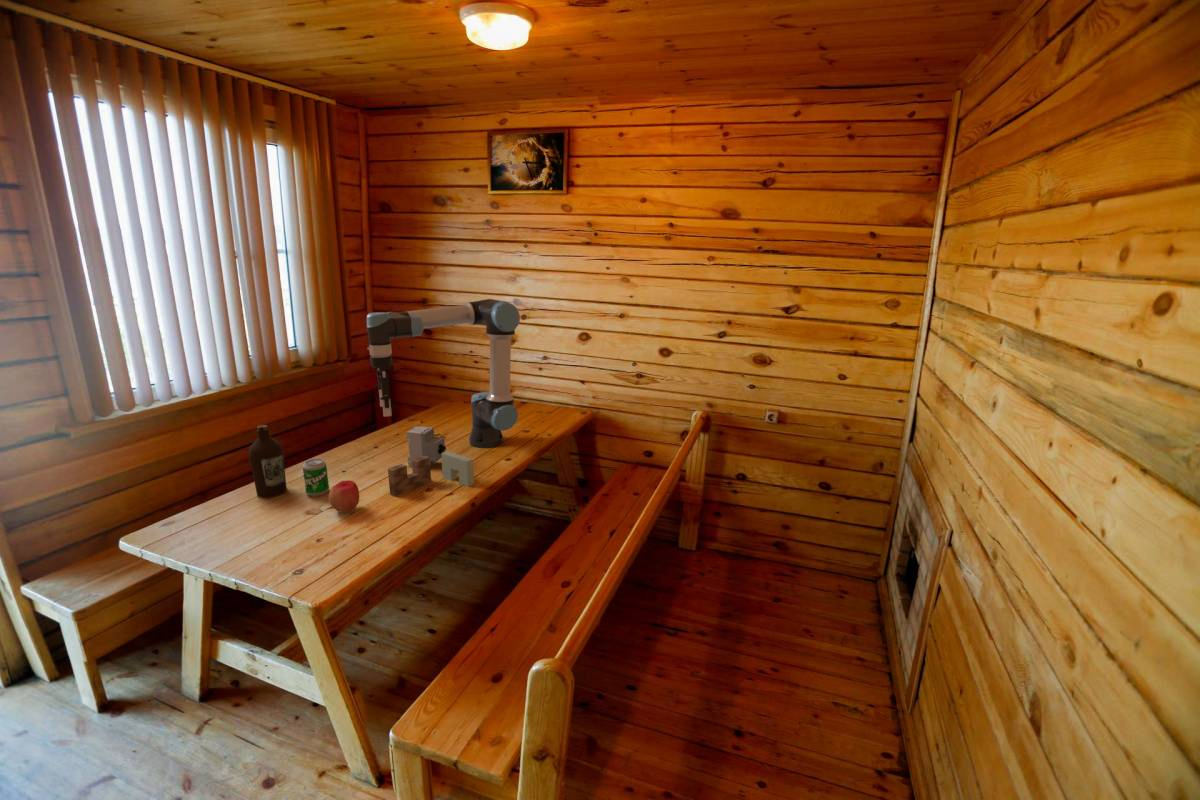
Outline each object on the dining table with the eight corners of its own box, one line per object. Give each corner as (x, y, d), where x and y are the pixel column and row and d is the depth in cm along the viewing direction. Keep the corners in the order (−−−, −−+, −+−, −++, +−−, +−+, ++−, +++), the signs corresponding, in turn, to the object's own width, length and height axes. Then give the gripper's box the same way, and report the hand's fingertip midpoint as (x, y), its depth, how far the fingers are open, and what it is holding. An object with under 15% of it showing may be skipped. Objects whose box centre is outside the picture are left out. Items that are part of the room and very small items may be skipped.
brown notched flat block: (426, 480, 220) (424, 455, 217) (431, 482, 218) (429, 457, 215) (390, 494, 207) (387, 468, 204) (395, 496, 205) (393, 470, 203)
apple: (339, 504, 199) (336, 477, 196) (366, 504, 199) (363, 478, 196) (325, 517, 190) (322, 489, 187) (354, 517, 189) (351, 489, 187)
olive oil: (249, 493, 206) (238, 427, 199) (279, 483, 214) (270, 419, 207) (263, 501, 200) (253, 433, 193) (294, 491, 208) (285, 425, 201)
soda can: (306, 490, 209) (302, 459, 206) (329, 487, 212) (325, 456, 209) (305, 498, 202) (301, 467, 199) (329, 495, 205) (325, 464, 202)
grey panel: (442, 477, 222) (441, 453, 220) (448, 475, 225) (447, 451, 222) (468, 486, 215) (466, 461, 212) (474, 484, 217) (472, 459, 214)
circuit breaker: (441, 470, 229) (439, 435, 225) (408, 467, 231) (405, 432, 227) (449, 463, 236) (447, 429, 232) (417, 460, 239) (415, 426, 234)
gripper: (367, 350, 220) (372, 403, 226) (372, 362, 198) (378, 421, 204) (388, 348, 223) (392, 401, 229) (395, 361, 201) (400, 419, 207)
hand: (385, 411), depth 216 cm, fingers open, 13 cm apart
